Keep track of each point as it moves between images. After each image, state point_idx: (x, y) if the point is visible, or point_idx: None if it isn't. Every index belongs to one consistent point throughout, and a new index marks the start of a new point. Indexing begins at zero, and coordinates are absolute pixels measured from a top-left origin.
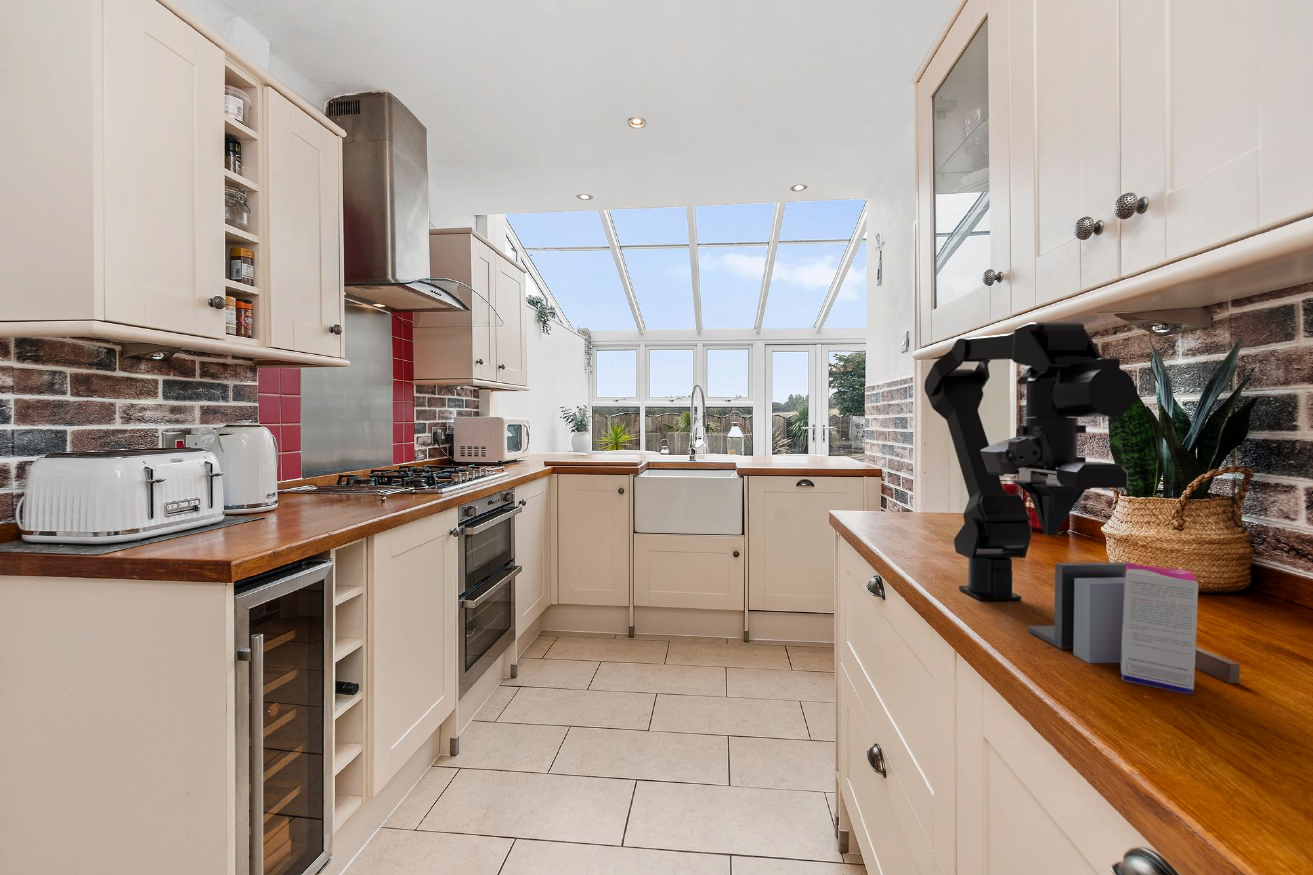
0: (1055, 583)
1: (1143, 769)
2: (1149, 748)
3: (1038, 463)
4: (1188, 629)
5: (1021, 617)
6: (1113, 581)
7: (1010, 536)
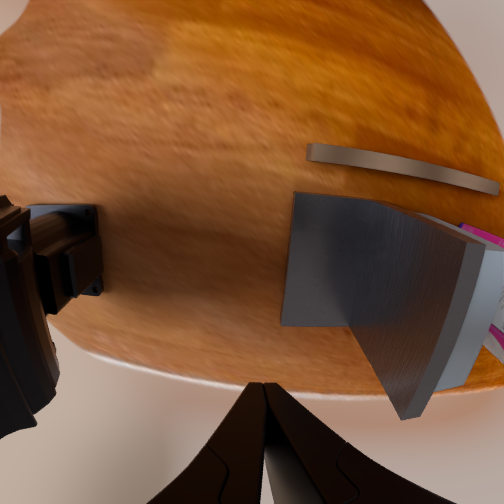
0: (385, 389)
1: (497, 382)
2: (494, 367)
3: None
4: None
5: (201, 280)
6: (476, 338)
7: (37, 324)
